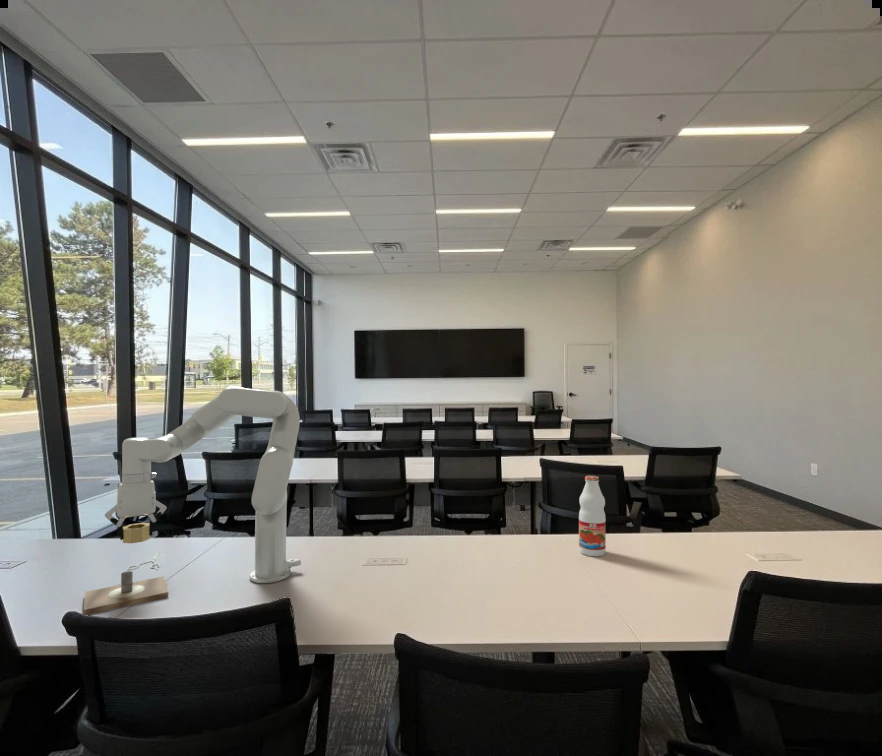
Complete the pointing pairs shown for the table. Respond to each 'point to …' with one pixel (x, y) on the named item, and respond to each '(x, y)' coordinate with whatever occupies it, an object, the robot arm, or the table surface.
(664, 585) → the table surface
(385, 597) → the table surface
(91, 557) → the table surface
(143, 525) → the ring
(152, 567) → the scissors
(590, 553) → the fruit juice
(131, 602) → the post plate
